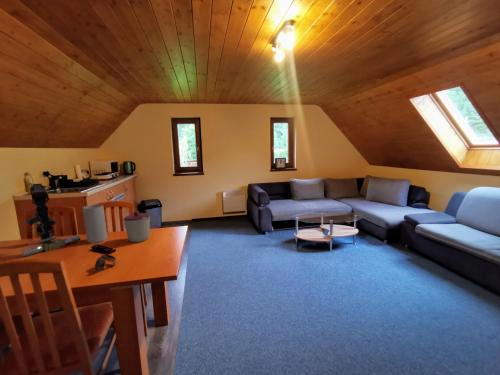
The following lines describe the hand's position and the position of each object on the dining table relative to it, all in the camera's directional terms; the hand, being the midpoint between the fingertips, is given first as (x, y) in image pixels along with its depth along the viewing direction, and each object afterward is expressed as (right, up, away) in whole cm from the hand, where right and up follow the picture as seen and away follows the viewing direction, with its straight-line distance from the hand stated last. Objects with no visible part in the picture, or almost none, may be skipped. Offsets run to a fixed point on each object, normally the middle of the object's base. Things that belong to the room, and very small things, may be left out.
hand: (45, 234), depth 164 cm
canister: (+53, -7, +16) cm, 56 cm away
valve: (0, -11, +7) cm, 13 cm away
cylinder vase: (+22, -8, +19) cm, 30 cm away
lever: (-3, -5, +1) cm, 6 cm away
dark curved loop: (+53, -14, -26) cm, 61 cm away
